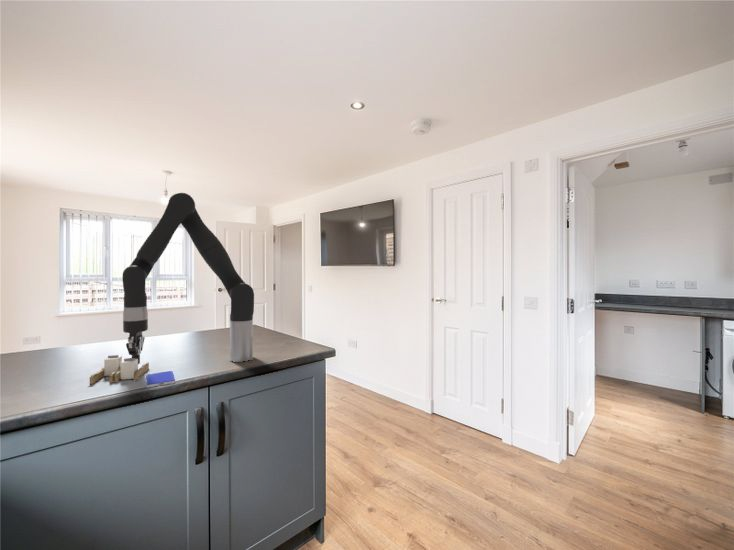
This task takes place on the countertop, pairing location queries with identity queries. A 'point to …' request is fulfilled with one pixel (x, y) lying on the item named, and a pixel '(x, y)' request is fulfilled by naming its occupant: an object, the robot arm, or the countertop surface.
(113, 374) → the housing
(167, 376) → the hard drive
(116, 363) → the tab
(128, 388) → the countertop surface
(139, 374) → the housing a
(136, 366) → the tab
